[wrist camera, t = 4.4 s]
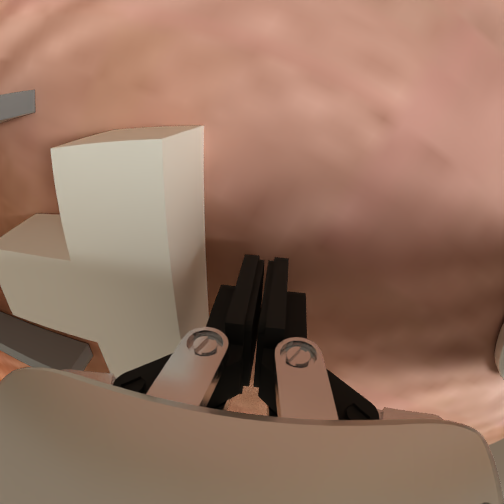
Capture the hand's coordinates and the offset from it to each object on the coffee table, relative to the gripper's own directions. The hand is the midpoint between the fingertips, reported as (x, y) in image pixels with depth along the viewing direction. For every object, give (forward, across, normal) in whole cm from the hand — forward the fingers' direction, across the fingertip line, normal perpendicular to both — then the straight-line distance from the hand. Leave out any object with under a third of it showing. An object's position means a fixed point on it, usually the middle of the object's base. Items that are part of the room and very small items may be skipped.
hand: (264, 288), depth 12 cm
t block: (+1, +8, 0) cm, 8 cm away
